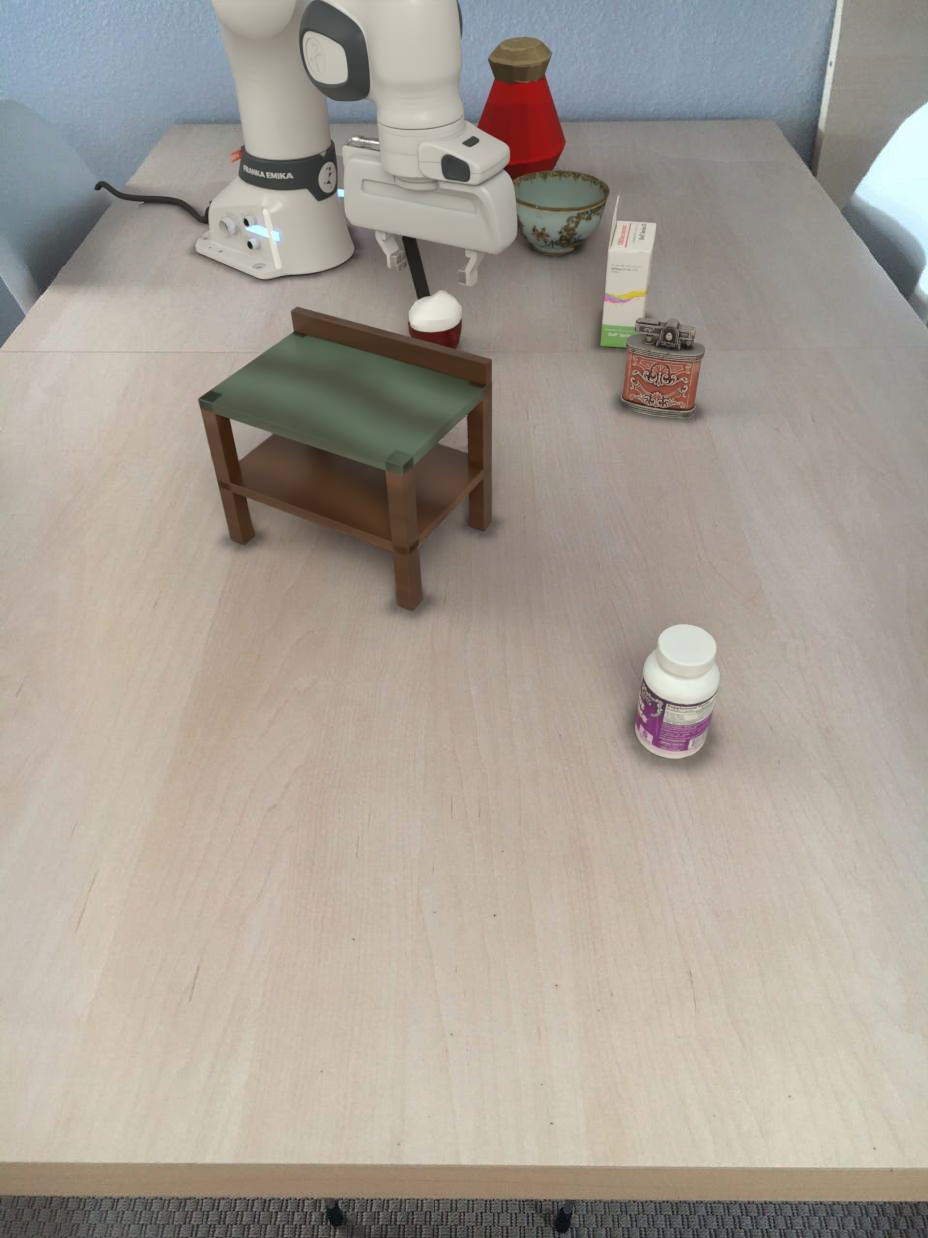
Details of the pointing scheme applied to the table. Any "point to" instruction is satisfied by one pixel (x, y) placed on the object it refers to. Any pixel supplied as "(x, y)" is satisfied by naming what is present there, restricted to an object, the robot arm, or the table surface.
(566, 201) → the bowl
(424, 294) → the cocoa
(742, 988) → the table surface
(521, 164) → the bottle
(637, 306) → the white medicine box
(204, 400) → the green top side table
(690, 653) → the pill bottle
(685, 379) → the lighter
